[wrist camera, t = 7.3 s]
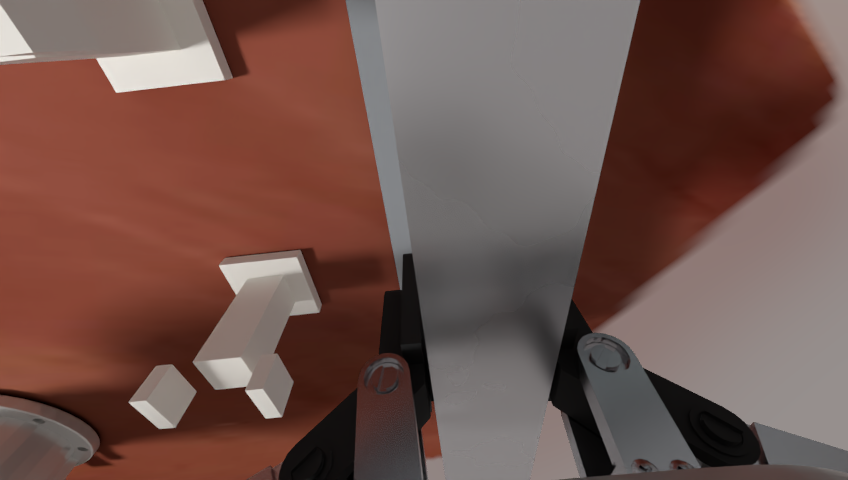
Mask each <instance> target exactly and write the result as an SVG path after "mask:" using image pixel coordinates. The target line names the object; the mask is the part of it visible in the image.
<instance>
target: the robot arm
mask: <svg viewBox="0 0 848 480" xmlns="http://www.w3.org/2000/svg"><path fill="white" fill-rule="evenodd" d="M431 401H434V397H433V391H432V384H431V377H430V370H429V364H428V357H427V350H426V343H425V336H424V330H423V323H422V316H421V309H420V303H419V296H418V289H417V282H416V275H415V269H414V262H413V255H412V253H409V254H403V267H402V290H395V291H386V292H385V295H384V305H383V316H382V326H381V337H380V347H379V355H376V356H374V357H373V358H371V359H370V360H368V361H367V362H366V363H365V364H364V366H363V367H362V369H361V371H360V373H359V378H358V388H357V389H356V390H354V391H353V392H352V393H351V394H350V395H349V396H348V397H347V398H346V399H345V400H344V401H343V402H341V403H340V404H339V405H338V406H337V407H336V408H335V409H334V410H333V411H332V412H331V413H330V414H328V415H327V416H326V417H325V418H324V419H323V420H322V421H321V422H320V423H319V424H318V425H317V426H316V427H314V428H313V429H312V430H311V431H310V432H309V433H308V434H307V435H306V436H305V437H304V438H303V439H301V440H300V441H299V442H298V443H297V444H296V445H295V446H294V447H293V448H292V449H291V451H290V452H289V453H288V454H287V456H286V458H285V460H284V461H283V462H282V463H280V464H279V465H277V466H275V467H274V468H272V467H271V466H268V467H267V468H265V469H263V470H262V471H260V472H258V473H257V474H255V475H253V476H252V477H250V478H248V479H247V480H428V475H427V467H426V459H425V451H424V443H423V435H422V427H423V426H424V424H425V423H426V422H427V421H428V420H429V418H430V417H431V414H430V412H432V406H431ZM548 401H552V404H553V406H555V407H556V408H558V409H559V410H561V416H562V419H563V422H564V426H565V429H566V432H567V436H568V439H569V442H570V446H571V449H572V452H573V456H574V459H575V462H576V466H577V469H578V472H579V476H580V478H573V479H562V480H848V451H846V450H843V449H839V448H836V447H833V446H830V445H826V444H823V443H820V442H817V441H814V440H810V439H807V438H804V437H801V436H797V435H794V434H791V433H788V432H785V431H781V430H778V429H775V428H772V427H768V426H765V425H762V424H758V423H755V422H753V423H752V424H751V425H747V424H746V423H745V422H743V421H742V420H741V419H740V418H739V417H737V416H736V415H735V414H734V413H732V412H730V411H729V410H727V409H725V408H724V407H722V406H720V405H718V404H716V403H714V402H712V401H710V400H708V399H705V398H703V397H701V396H699V395H697V394H695V393H693V392H691V391H689V390H687V389H685V388H683V387H681V386H679V385H677V384H675V383H673V382H671V381H669V380H667V379H665V378H662V377H660V376H659V375H656V374H654V373H652V372H650V371H648V370H646V369H644V368H642V366H641V364H640V362H639V361H638V359H637V357H636V356H635V354H634V353H633V351H632V350H631V349H630V347H628V346H627V345H626V344H625V343H624V342H622V341H621V340H619V339H617V338H615V337H613V336H610V335H607V334H603V333H592V331H591V329H590V328H589V326H588V324H587V323H586V321H585V320H584V318H583V316H582V315H581V313H580V311H579V310H578V308H577V307H576V305H575V303H574V302H573V300H572V299H571V303H570V307H569V311H568V316H567V320H566V324H565V329H564V333H563V337H562V342H561V346H560V350H559V355H558V359H557V363H556V368H555V372H554V376H553V381H552V385H551V390H550V394H549V398H548ZM99 445H100V439H99V437H98V435H97V433H96V432H95V431H94V430H93V429H92V428H91V427H90V426H89V425H88V424H86V423H85V422H83V421H82V420H80V419H78V418H77V417H75V416H73V415H71V414H69V413H67V412H64V411H62V410H60V409H57V408H54V407H51V406H49V405H46V404H43V403H39V402H35V401H31V400H27V399H23V398H18V397H12V396H6V395H0V480H65V479H66V477H67V475H68V474H69V473H70V472H71V470H72V469H73V468H74V466H77V465H80V464H83V463H85V462H86V461H88V460H90V458H91V457H92V456H93V455H94V453H95V452H96V451H97V449H98V448H99Z"/></svg>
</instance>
